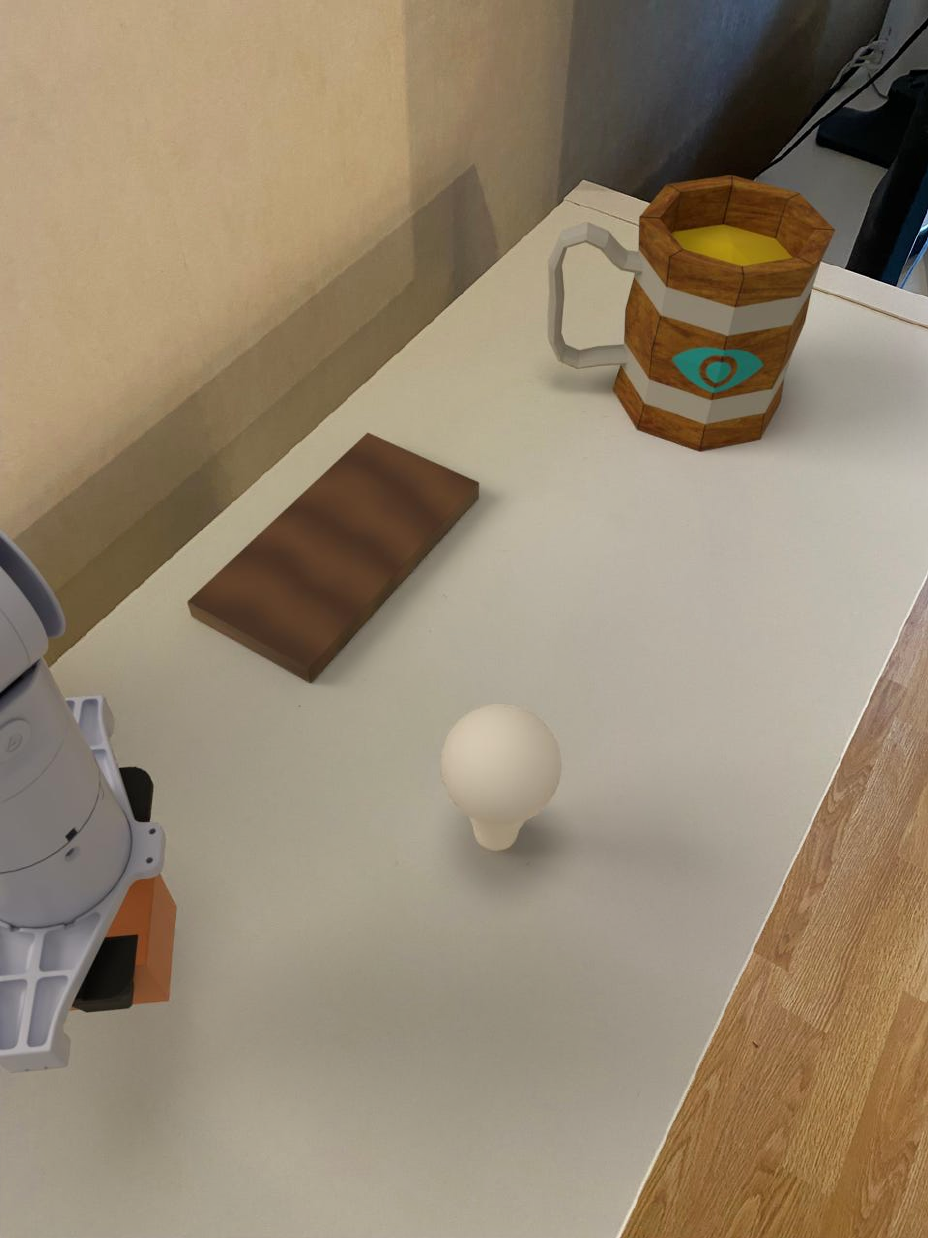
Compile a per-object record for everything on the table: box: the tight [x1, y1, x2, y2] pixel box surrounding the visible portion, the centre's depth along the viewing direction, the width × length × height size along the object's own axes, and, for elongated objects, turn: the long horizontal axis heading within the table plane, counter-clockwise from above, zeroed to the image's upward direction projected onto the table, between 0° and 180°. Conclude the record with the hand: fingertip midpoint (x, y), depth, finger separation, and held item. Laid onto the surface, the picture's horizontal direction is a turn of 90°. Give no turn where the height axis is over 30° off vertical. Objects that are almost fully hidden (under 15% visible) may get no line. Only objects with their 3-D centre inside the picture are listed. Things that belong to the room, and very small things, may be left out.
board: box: [186, 432, 480, 684], centre depth 70 cm, size 20×10×2 cm, turn 147°
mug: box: [547, 174, 836, 452], centre depth 77 cm, size 20×14×15 cm
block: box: [69, 872, 178, 1012], centre depth 45 cm, size 4×4×4 cm
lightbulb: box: [440, 703, 563, 852], centre depth 53 cm, size 6×6×11 cm
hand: (115, 946), depth 45 cm, fingers closed on block, 4 cm apart
